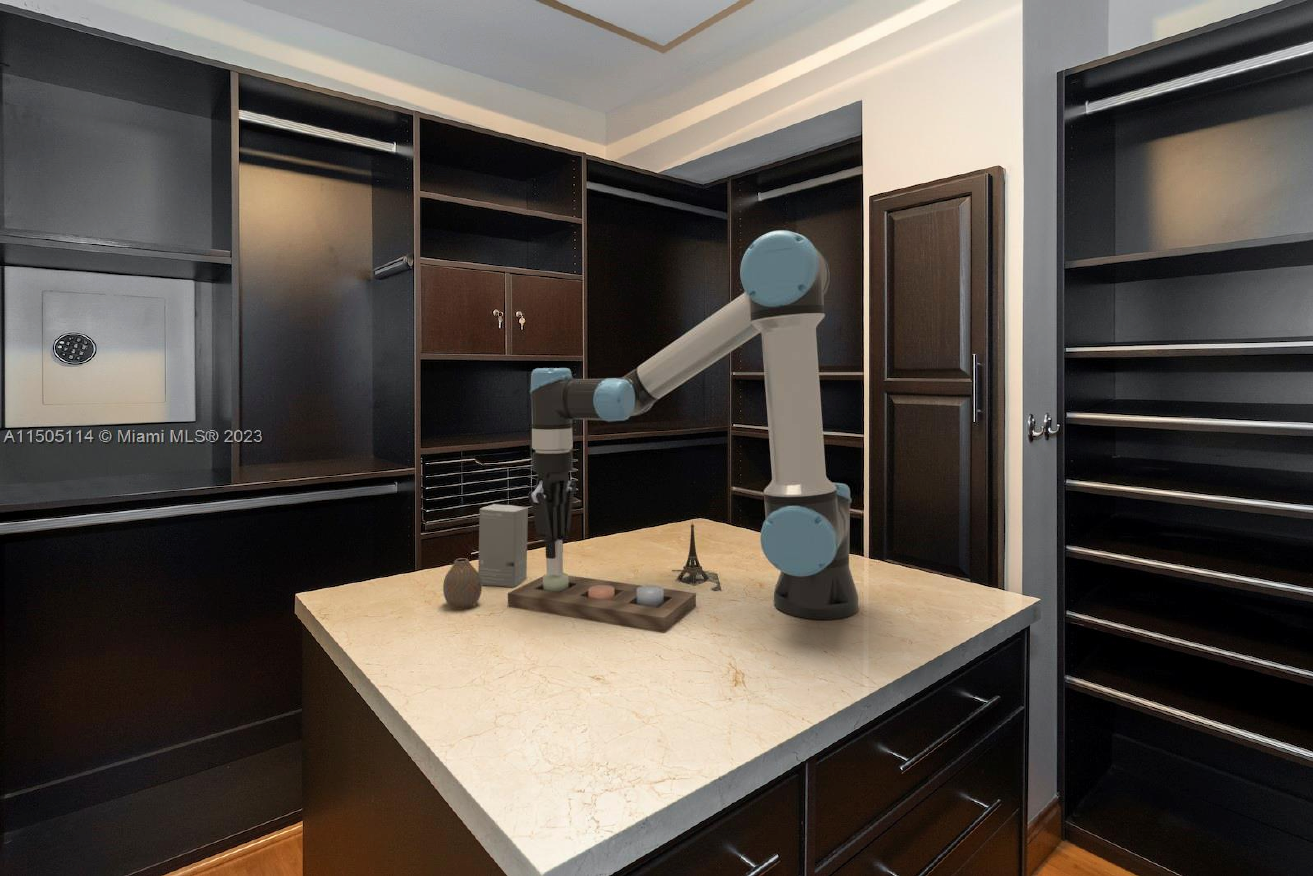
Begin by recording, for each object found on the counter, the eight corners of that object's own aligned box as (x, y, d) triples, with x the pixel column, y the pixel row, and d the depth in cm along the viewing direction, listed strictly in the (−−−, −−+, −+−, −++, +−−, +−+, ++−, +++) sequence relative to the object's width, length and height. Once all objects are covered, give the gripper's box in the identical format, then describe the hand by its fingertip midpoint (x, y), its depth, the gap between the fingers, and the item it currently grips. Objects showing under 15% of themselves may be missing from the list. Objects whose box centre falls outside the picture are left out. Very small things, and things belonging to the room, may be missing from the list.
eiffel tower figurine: (723, 594, 136) (722, 527, 135) (671, 595, 136) (670, 528, 135) (716, 572, 151) (716, 511, 150) (670, 572, 151) (669, 512, 150)
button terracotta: (619, 602, 130) (618, 586, 129) (606, 610, 125) (606, 594, 125) (596, 599, 132) (596, 583, 131) (583, 607, 127) (583, 591, 127)
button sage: (573, 589, 134) (573, 574, 133) (559, 596, 129) (559, 581, 129) (552, 586, 136) (552, 571, 136) (538, 593, 132) (537, 578, 131)
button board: (696, 606, 128) (696, 593, 128) (664, 632, 115) (664, 617, 115) (550, 584, 142) (550, 572, 141) (508, 606, 129) (507, 593, 129)
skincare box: (477, 585, 142) (474, 509, 140) (493, 575, 149) (491, 502, 147) (516, 588, 140) (513, 510, 138) (530, 578, 147) (528, 504, 145)
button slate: (667, 603, 125) (667, 587, 125) (656, 611, 121) (656, 595, 121) (644, 599, 127) (643, 583, 127) (632, 608, 123) (631, 591, 123)
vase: (471, 613, 126) (470, 565, 125) (436, 610, 127) (435, 564, 126) (488, 600, 132) (486, 555, 132) (455, 598, 134) (453, 554, 133)
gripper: (554, 446, 137) (557, 562, 140) (514, 453, 126) (517, 580, 128) (587, 447, 134) (589, 566, 137) (549, 455, 122) (552, 585, 125)
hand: (554, 573), depth 132 cm, fingers closed
